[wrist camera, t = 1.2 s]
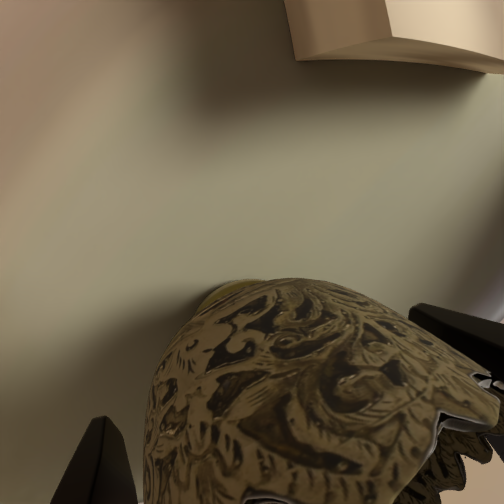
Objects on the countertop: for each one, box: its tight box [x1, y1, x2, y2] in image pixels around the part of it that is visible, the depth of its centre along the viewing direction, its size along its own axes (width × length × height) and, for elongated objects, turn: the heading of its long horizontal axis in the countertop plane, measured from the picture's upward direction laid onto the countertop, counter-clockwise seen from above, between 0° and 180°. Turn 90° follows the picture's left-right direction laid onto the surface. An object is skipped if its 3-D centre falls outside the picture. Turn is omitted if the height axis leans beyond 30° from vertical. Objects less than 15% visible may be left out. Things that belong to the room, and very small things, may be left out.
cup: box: [143, 278, 504, 504], centre depth 7 cm, size 8×7×8 cm
